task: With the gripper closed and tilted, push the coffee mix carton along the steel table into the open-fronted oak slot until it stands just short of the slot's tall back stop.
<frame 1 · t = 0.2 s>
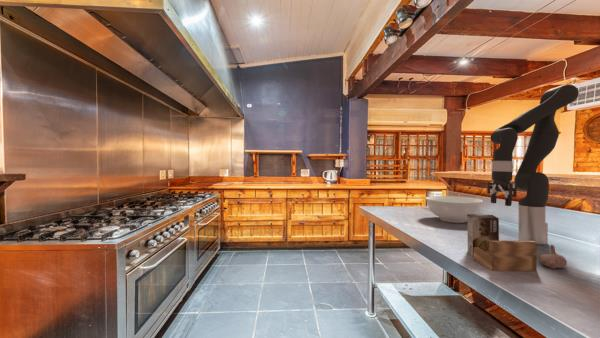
hand: (500, 204, 114), 18 cm above the worktop, tool pointing down, fingers open, 8 cm apart
bowl: (452, 220, 159), on the worktop
holder: (502, 264, 88), on the worktop
garlic bulb: (552, 267, 86), on the worktop
coffee box: (482, 255, 98), on the worktop
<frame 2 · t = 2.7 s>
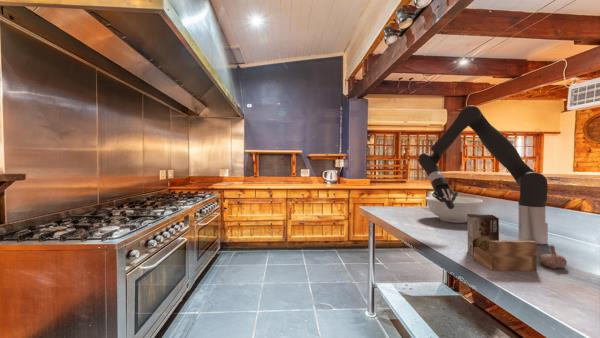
hand: (451, 208, 118), 15 cm above the worktop, tool tilted 45°, fingers closed
nothing on the worktop moved.
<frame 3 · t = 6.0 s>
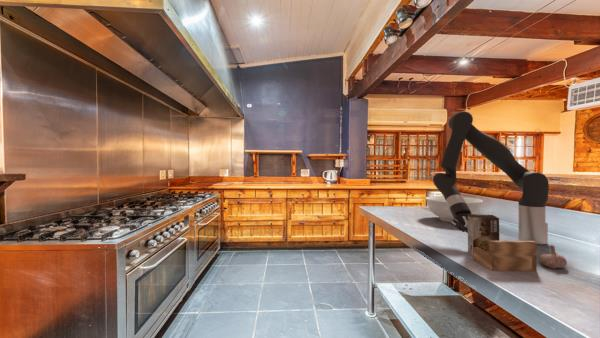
hand: (475, 240, 101), 5 cm above the worktop, tool tilted 45°, fingers closed
coffee box: (482, 255, 97), on the worktop, touching gripper
everything else where it was.
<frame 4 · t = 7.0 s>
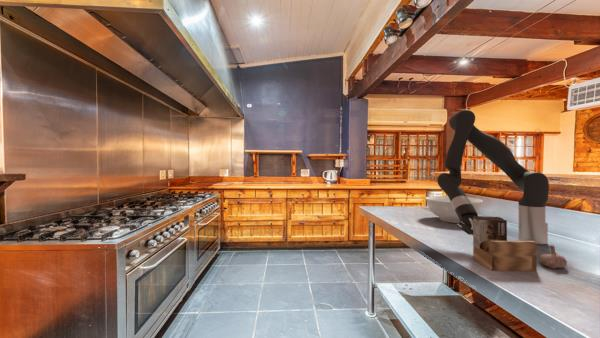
hand: (482, 243, 97), 5 cm above the worktop, tool tilted 45°, fingers closed
coffee box: (489, 259, 93), on the worktop, touching gripper
everything else where it was.
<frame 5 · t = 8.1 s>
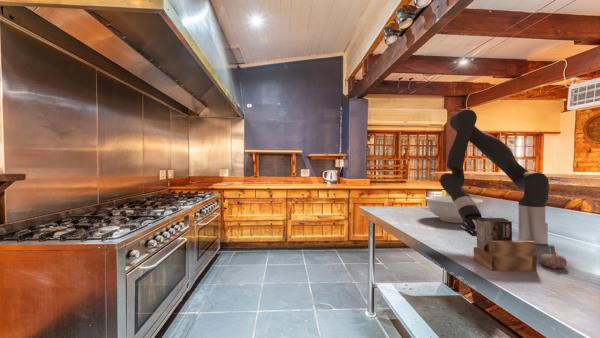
hand: (487, 245, 95), 5 cm above the worktop, tool tilted 45°, fingers closed
coffee box: (493, 261, 91), on the worktop, touching gripper
everything else where it was.
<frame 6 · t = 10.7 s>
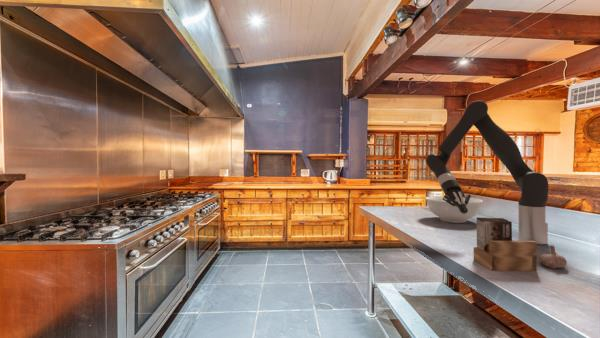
hand: (465, 212, 108), 15 cm above the worktop, tool tilted 45°, fingers closed
coffee box: (493, 261, 91), on the worktop
everything else where it was.
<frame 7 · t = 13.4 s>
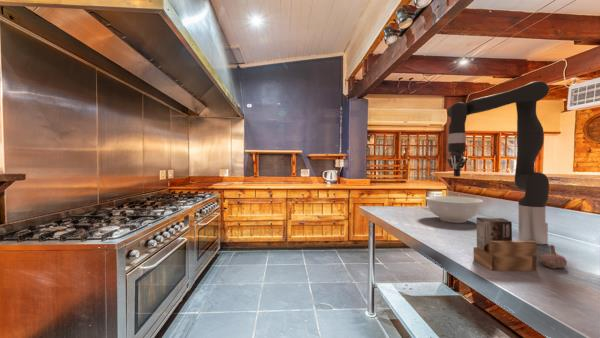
hand: (456, 176, 122), 31 cm above the worktop, tool pointing down, fingers closed
nothing on the worktop moved.
at the end: coffee box inside the target area on the holder (1.5 cm from its centre), point 0.0 cm above the holder's base; coffee box tilted 0° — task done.
